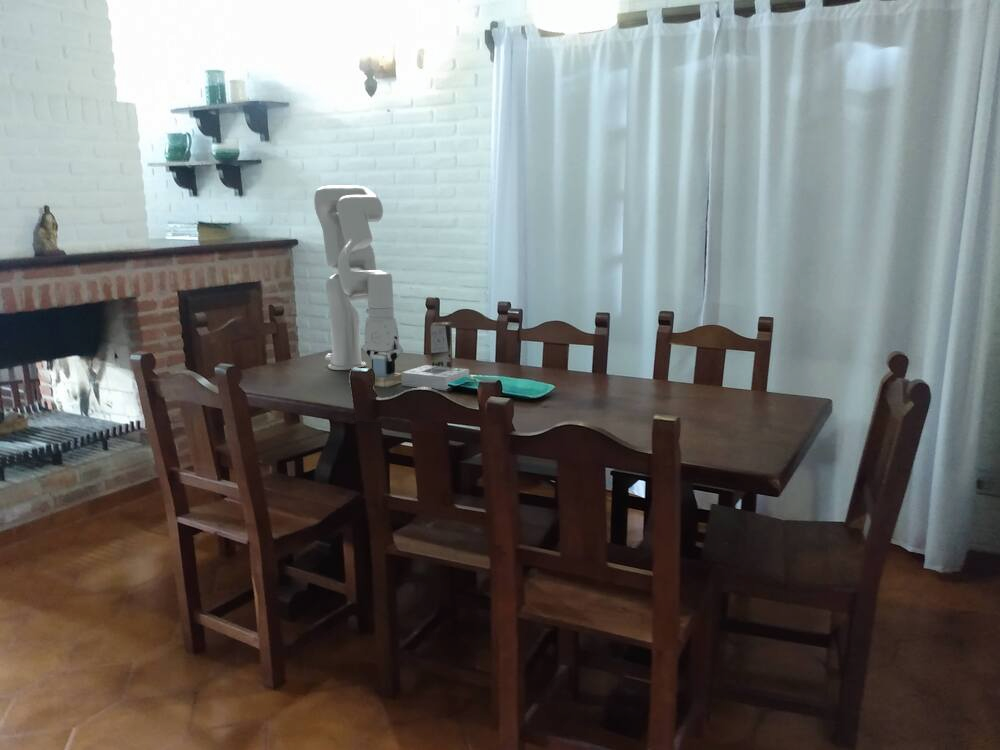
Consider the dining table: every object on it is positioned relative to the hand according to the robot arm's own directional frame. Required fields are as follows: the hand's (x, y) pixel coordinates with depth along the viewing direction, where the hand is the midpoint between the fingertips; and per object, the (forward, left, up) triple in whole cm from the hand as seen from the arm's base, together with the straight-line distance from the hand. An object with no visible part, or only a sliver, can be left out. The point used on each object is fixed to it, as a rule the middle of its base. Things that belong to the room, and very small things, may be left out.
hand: (383, 372), depth 233 cm
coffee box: (+7, +22, -4) cm, 23 cm away
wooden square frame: (0, 0, -3) cm, 3 cm away
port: (+15, +6, -3) cm, 17 cm away
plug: (0, 0, -3) cm, 3 cm away
